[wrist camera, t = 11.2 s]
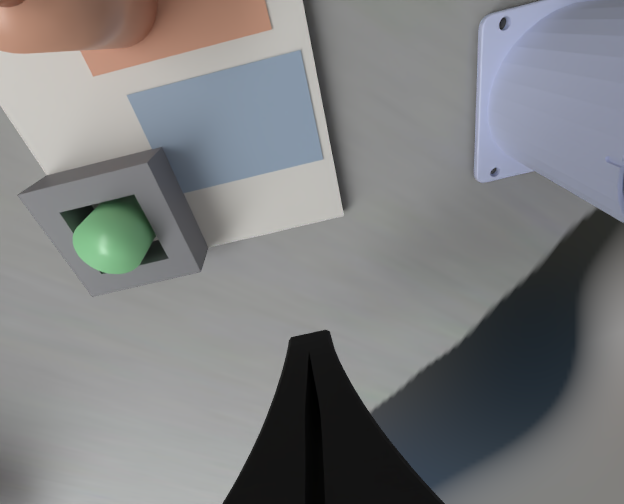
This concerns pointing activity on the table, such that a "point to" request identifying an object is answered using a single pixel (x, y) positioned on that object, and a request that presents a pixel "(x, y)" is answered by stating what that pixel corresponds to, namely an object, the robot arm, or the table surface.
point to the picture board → (179, 133)
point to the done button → (114, 236)
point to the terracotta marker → (73, 24)
